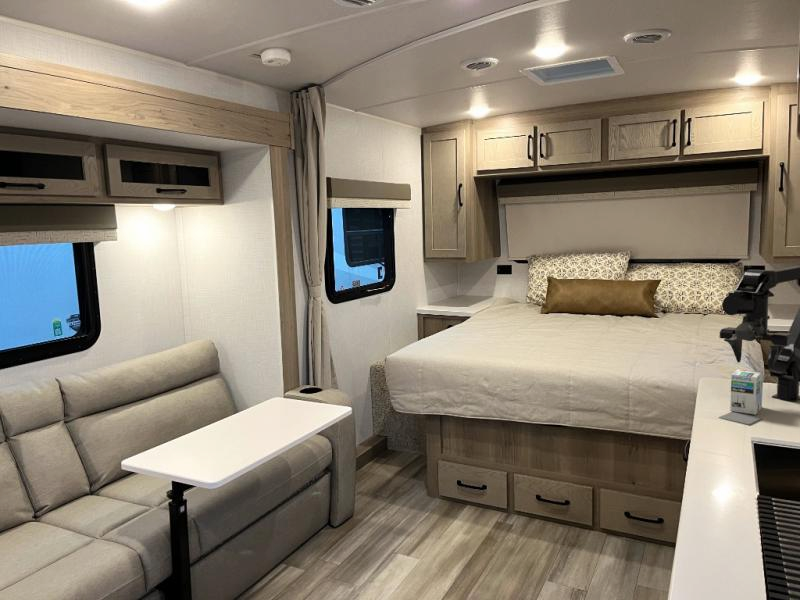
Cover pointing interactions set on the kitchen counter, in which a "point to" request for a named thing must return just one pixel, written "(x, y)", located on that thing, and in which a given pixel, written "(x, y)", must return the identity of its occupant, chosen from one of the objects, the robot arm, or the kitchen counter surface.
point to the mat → (741, 418)
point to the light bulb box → (746, 391)
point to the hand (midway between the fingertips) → (755, 364)
